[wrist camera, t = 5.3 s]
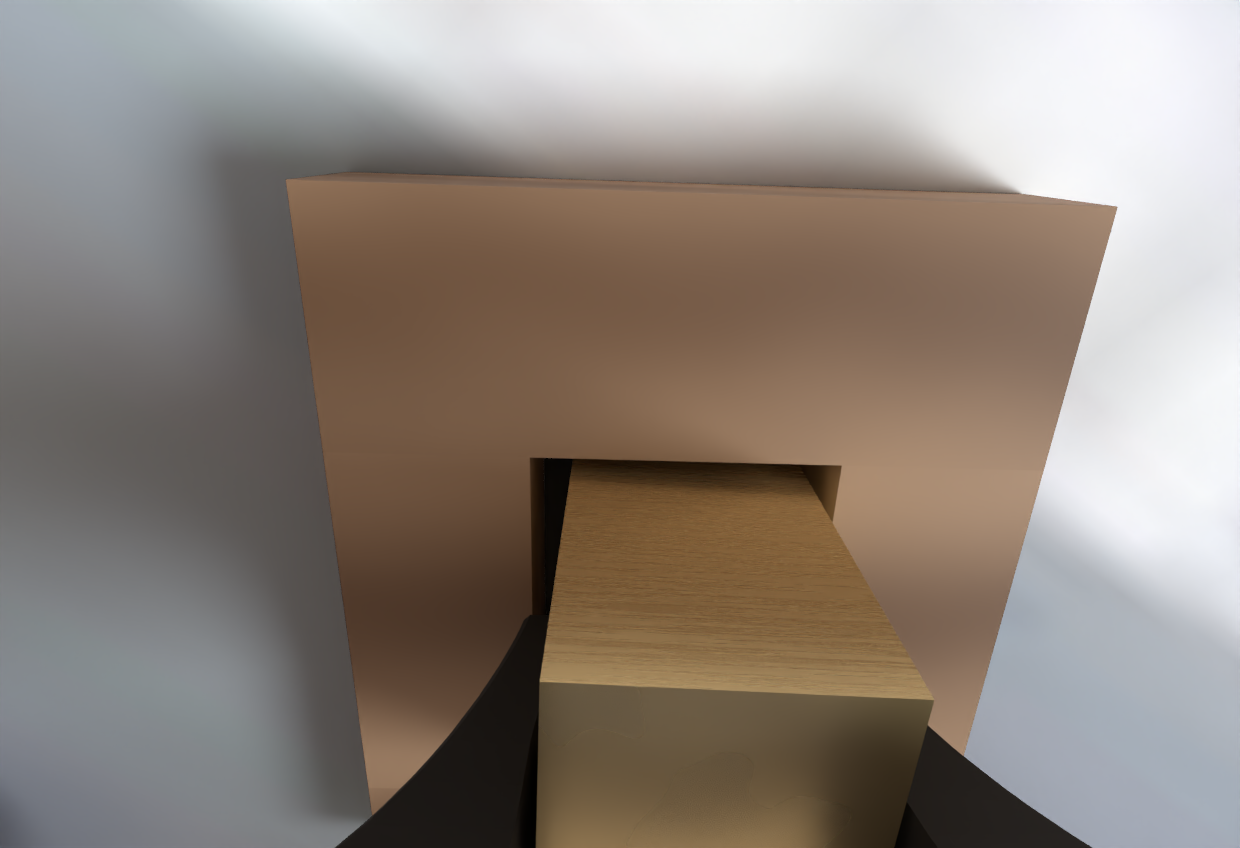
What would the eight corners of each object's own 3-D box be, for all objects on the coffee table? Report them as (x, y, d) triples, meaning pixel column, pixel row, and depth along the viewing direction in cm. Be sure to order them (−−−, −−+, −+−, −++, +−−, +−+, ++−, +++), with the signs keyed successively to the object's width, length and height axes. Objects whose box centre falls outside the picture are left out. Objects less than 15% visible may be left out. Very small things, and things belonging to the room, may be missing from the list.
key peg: (784, 439, 14) (934, 699, 7) (744, 701, 16) (830, 1079, 9) (577, 428, 14) (540, 681, 7) (566, 693, 16) (530, 1070, 9)
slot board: (876, 834, 19) (913, 933, 16) (416, 826, 18) (387, 926, 16) (1025, 194, 13) (1117, 206, 10) (347, 171, 12) (285, 179, 10)
